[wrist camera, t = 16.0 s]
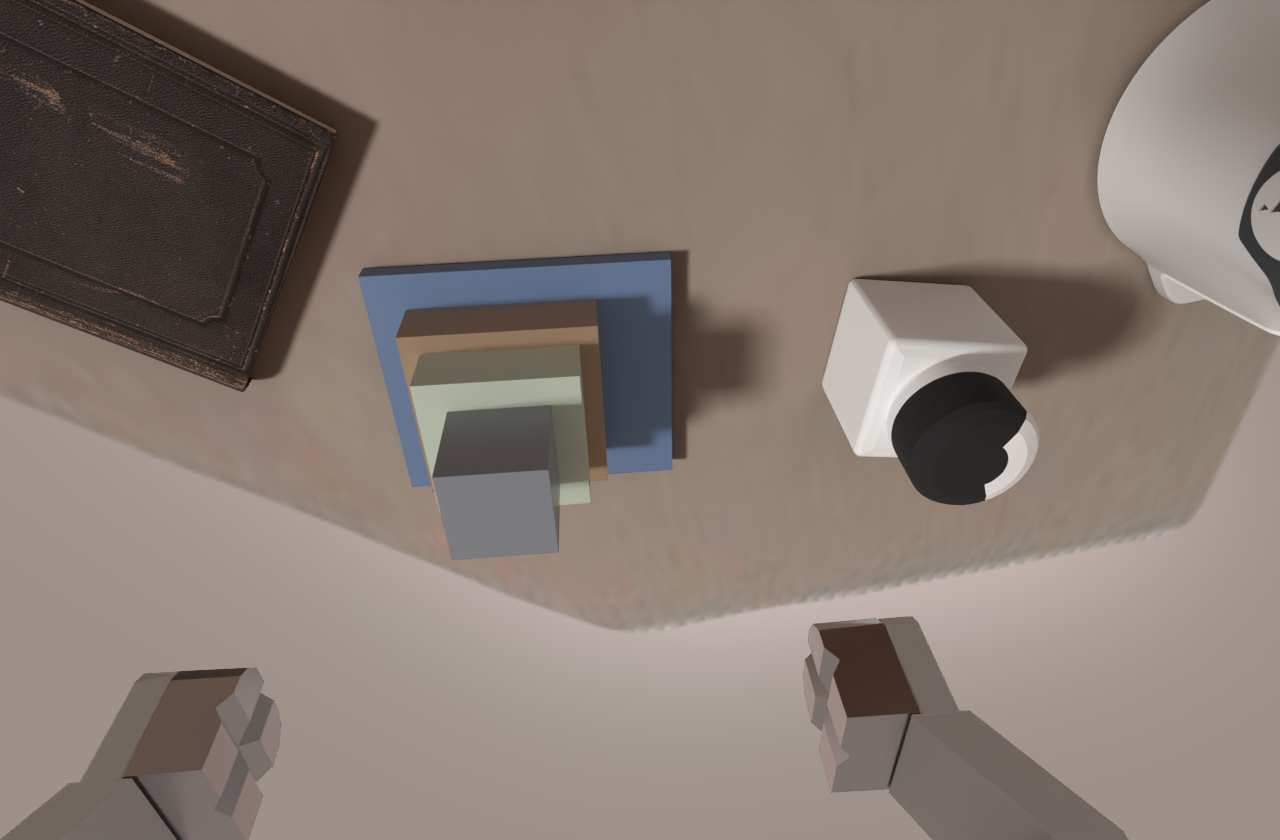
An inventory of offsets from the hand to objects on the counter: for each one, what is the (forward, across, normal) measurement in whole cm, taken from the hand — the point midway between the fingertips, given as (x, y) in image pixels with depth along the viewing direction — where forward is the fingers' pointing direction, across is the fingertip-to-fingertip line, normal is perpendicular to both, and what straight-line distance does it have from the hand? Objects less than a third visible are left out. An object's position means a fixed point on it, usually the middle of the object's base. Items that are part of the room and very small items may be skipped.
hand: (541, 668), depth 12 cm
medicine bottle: (+31, -18, +13) cm, 38 cm away
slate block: (+24, +4, +14) cm, 28 cm away
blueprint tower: (+31, +3, +14) cm, 34 cm away
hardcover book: (+32, +24, 0) cm, 40 cm away
